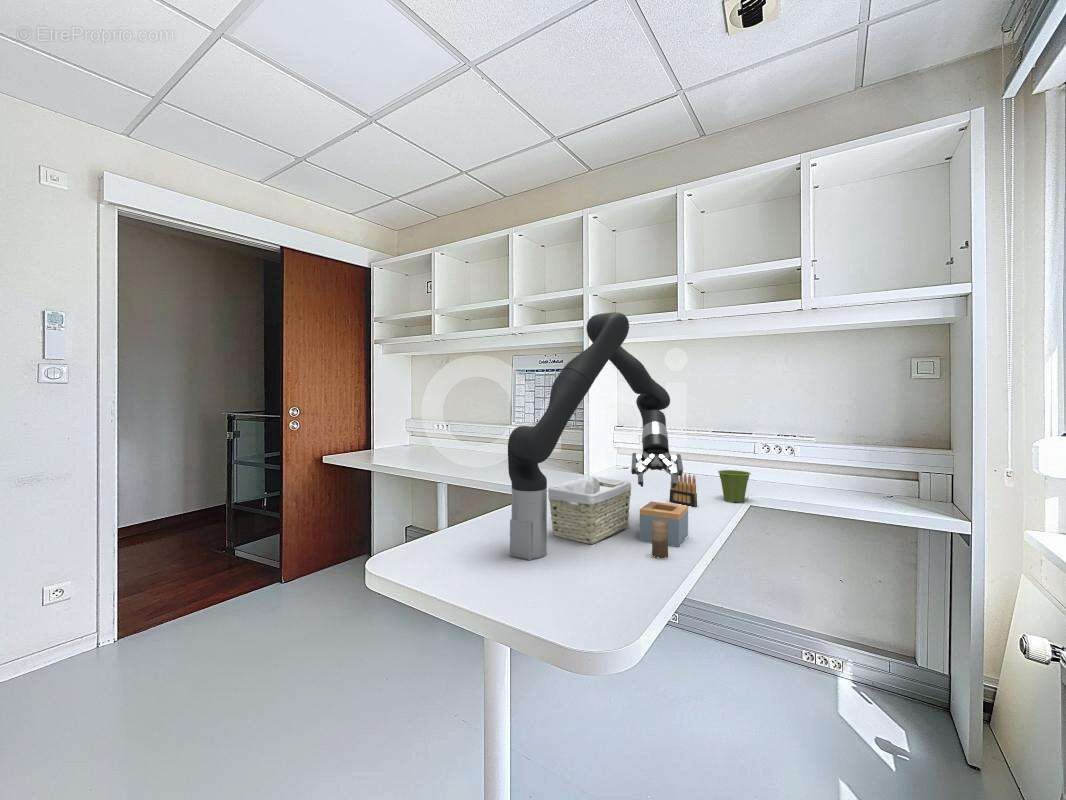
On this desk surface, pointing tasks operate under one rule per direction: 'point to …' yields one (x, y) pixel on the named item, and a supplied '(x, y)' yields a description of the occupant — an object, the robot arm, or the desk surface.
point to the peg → (660, 538)
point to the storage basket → (589, 508)
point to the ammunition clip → (684, 492)
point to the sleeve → (670, 513)
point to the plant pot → (734, 484)
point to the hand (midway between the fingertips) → (657, 485)
